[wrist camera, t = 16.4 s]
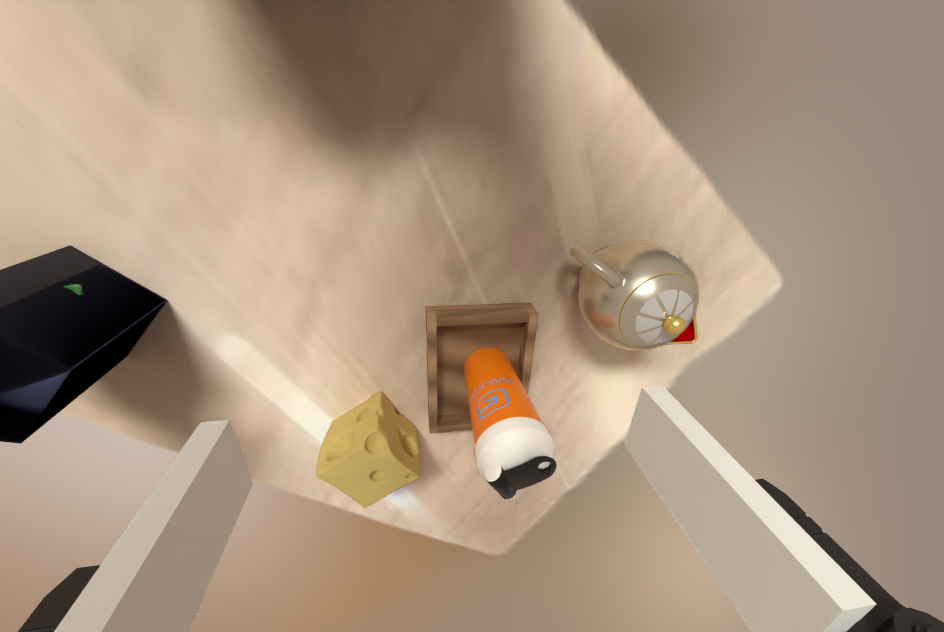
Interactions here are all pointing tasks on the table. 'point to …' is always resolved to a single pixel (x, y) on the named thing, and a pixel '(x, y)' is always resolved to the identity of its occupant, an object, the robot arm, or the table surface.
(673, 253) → the teapot
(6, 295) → the vase
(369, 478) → the cheese
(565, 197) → the table surface
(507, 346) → the tray
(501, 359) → the shaker bottle
